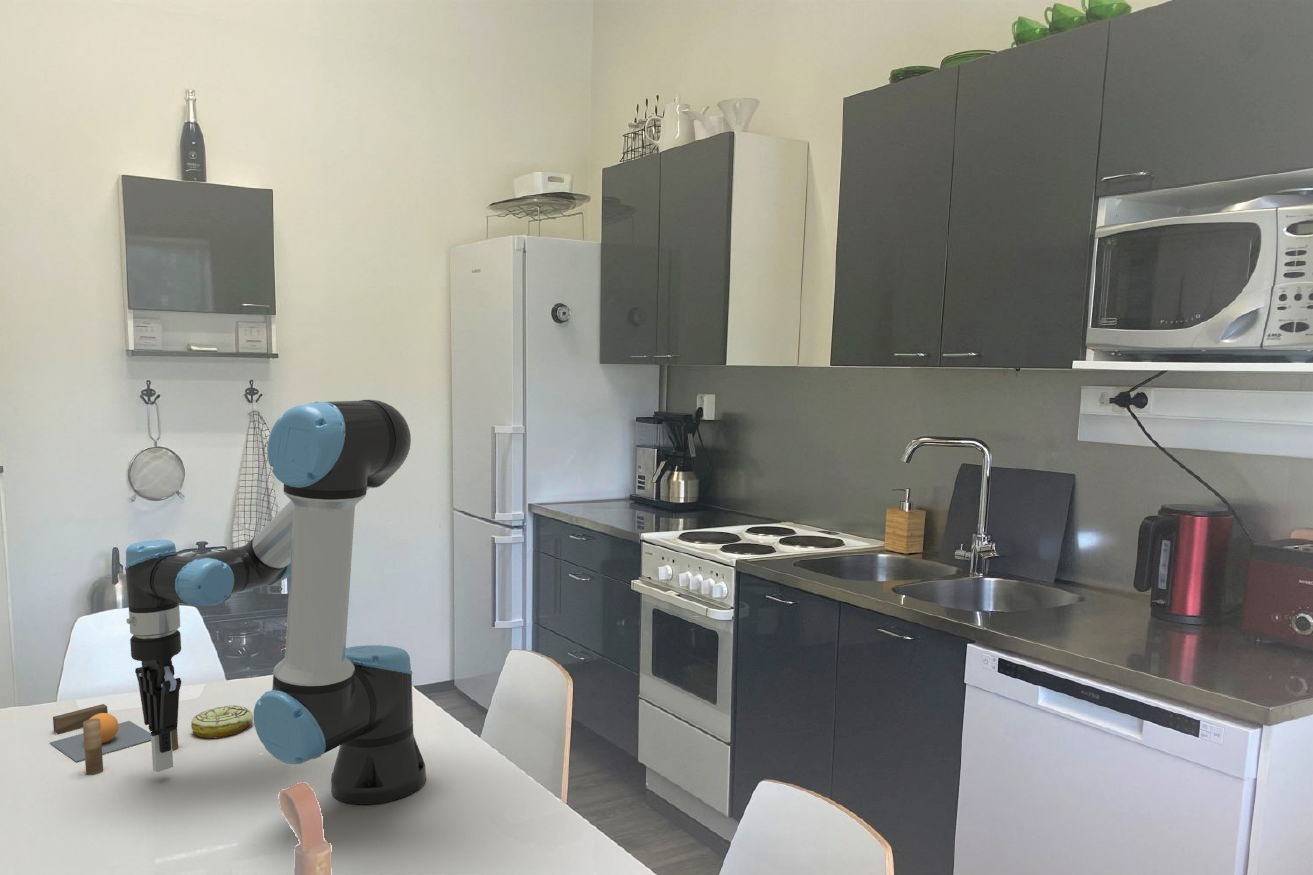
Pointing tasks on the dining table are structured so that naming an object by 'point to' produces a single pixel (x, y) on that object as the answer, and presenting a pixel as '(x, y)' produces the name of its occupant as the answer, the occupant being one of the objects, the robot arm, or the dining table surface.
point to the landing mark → (124, 738)
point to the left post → (93, 746)
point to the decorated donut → (221, 721)
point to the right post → (174, 739)
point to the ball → (107, 726)
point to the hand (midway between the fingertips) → (163, 768)
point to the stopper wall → (76, 718)
